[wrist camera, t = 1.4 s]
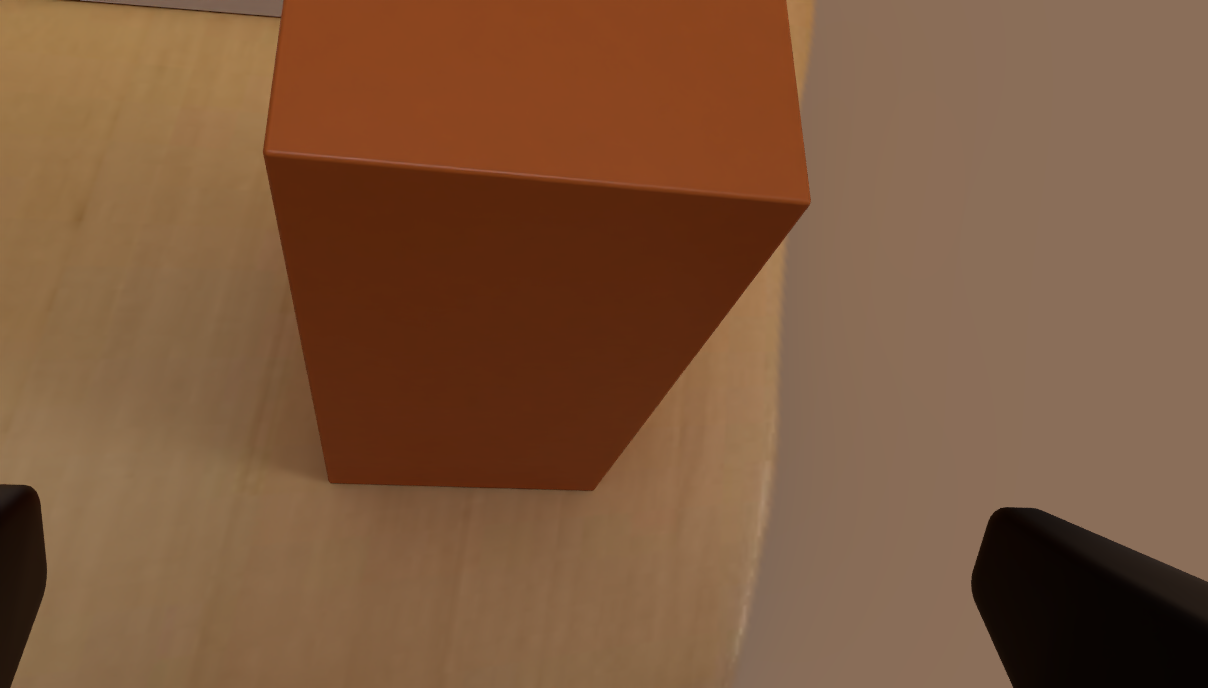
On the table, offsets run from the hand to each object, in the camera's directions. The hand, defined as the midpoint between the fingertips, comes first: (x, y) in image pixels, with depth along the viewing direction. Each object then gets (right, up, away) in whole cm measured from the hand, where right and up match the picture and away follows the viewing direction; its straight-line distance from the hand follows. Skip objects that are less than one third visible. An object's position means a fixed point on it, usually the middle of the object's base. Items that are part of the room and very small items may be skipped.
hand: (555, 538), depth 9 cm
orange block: (-3, +1, +14) cm, 15 cm away
